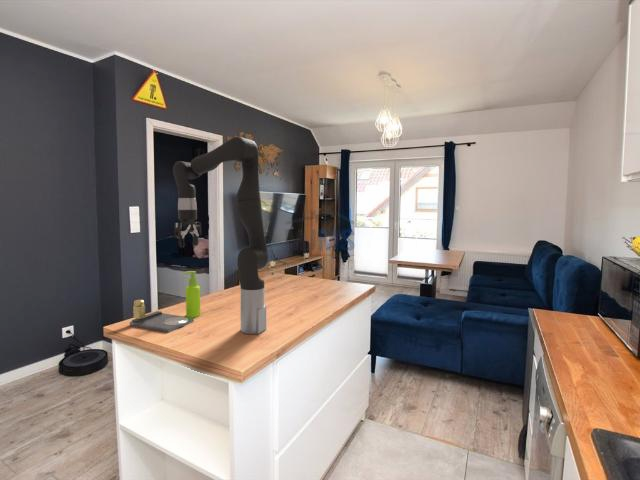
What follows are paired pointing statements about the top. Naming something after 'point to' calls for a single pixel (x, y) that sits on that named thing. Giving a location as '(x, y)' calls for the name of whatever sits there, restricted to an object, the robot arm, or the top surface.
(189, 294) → the soap dispenser
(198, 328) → the top surface
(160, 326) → the plate
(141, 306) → the press lever
